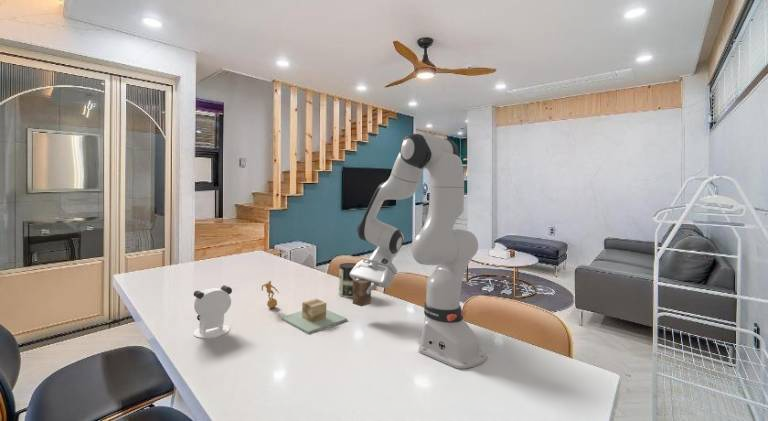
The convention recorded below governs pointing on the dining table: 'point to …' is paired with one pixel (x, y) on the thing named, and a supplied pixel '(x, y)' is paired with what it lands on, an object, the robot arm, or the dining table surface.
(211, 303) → the panda figurine
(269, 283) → the figurine
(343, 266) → the coffee can
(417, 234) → the robot arm
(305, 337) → the dining table surface
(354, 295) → the walnut brick
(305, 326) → the plate
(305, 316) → the base brick
